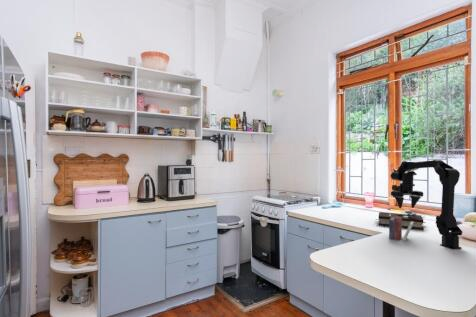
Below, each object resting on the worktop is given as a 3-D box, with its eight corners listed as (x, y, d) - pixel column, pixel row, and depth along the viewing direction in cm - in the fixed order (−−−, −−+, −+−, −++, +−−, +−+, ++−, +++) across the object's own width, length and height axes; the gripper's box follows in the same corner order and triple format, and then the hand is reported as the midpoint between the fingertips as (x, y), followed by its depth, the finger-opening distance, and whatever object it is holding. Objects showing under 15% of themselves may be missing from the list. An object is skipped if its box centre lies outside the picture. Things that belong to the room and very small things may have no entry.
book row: (401, 237, 157) (401, 216, 157) (399, 241, 151) (399, 219, 151) (391, 236, 160) (391, 215, 160) (389, 239, 154) (389, 217, 154)
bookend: (406, 237, 156) (413, 222, 154) (404, 241, 149) (412, 224, 147) (404, 236, 156) (411, 221, 154) (402, 240, 150) (409, 223, 148)
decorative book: (375, 210, 204) (424, 214, 189) (375, 220, 204) (424, 225, 189) (374, 214, 187) (428, 219, 172) (374, 226, 187) (428, 231, 172)
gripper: (408, 180, 176) (407, 204, 176) (384, 180, 171) (383, 205, 172) (424, 182, 165) (423, 208, 166) (399, 182, 160) (397, 209, 161)
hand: (406, 207), depth 166 cm, fingers open, 9 cm apart
